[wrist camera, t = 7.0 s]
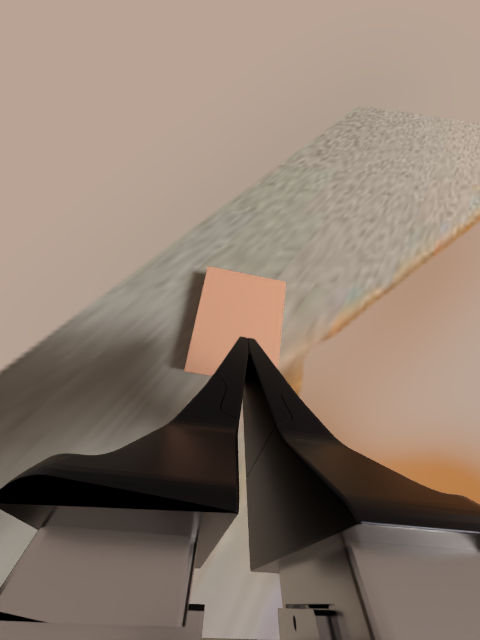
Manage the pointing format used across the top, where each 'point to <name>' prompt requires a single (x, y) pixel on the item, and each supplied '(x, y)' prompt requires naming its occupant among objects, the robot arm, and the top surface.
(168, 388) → the top surface
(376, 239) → the top surface
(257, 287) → the tile
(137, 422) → the top surface
